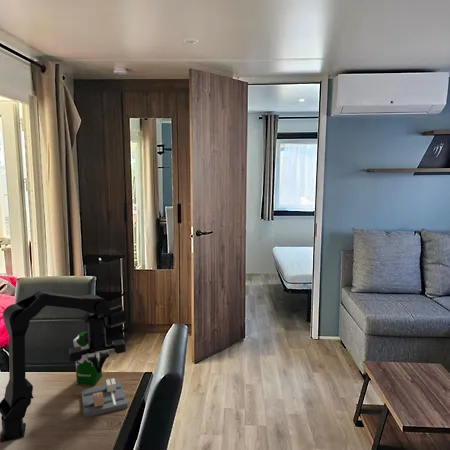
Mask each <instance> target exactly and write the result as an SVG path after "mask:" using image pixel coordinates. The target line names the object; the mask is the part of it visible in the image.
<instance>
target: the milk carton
mask: <svg viewBox="0 0 450 450" xmlns="http://www.w3.org/2000/svg"><path fill="white" fill-rule="evenodd" d="M83 333H88V330H87V331H86V330H85V331H84V330H83V331H81V332H79V333H78V335H77V336H76V337H75V338H74V339H73V340H72V341H73V347H79V346H81V350H82V349H88V348H89V346H88V342H84V339H83ZM96 358H97V363H98V368H99V352H98V353H96ZM75 372H76V385H77V386H92V387H93V386H95V387H96V385H97V384H98V382H99V381H100V380H101V378H102V377H103V368H102V369H101V372H100V373H97V370H96V368H95V366H94V365H93V363H92V362H91V361H88V360H87V355H82V358H81V359H80V360H79V361H75Z"/></svg>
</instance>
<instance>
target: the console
mask: <svg viewBox="0 0 450 450" xmlns="http://www.w3.org/2000/svg"><path fill="white" fill-rule="evenodd" d="M99 392H102V393H103V398H104V405H102V406H98V407H94V399H93V394H94V393H99ZM80 394H81V400H82V401H81V402H82V410H83V418H89V417H92V416H97V415H100V414H104V413H105V414H107V413H109V412H110V413H111V412H114V411H117V410H122V409H126V408H128V401H127V397H126V395H125V391H124V387H123V384H122V381H118V382H116V390H115V391H111V392H107V388H106V384H103V385H99V386H95V387H93V386H92V387H89V388H84V389H81V393H80Z"/></svg>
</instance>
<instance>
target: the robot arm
mask: <svg viewBox="0 0 450 450" xmlns="http://www.w3.org/2000/svg"><path fill="white" fill-rule="evenodd" d="M106 301H107V300H106V299H104V298H103V297H100V296H98V295H96V294H84V295H83V294H82V295H70V294H63V293H62V294H61V293H56V292H55V293H54V292H49V291H48V292H46V291H43V290H40V291H37V292H35V293H33V294H32V295H29V296H27V297H25V298H23V299H21V300H19V301H17V302H16V303H13V304H10V305H8V306H7V307H6V308H5V309H4V310H3V312H2V318H3V322H4V323H3V324H4V326H5V330H6V331H7V335H8V367H9V368H8V370H9V378H8V383H7V384H6V386H5V390H4V391H5V392H4V397H3V399H2V400H1V401H0V415H1V419H0V420H1V428H2V429H1V434H0V443H4V442H8V441H10V440H16V439H20V438H23V437H25V434H26V428H27V427H26V426H27V423H26V422H24V418H25V416H26V412H27V410H28V407H29V406H30V405H31V403H32V399H34V395H33V391H34V386H33V384H32V383H31V381H29V380H28V378H26V335H27V332H28V330H29V327H30V323H31V322H30V321H31V319H34V318H35V317H36V316H37V315H38V314H39V313H40V312H41V311H42V310H43V309H44V308H45V307H47V306H48V307H58V308H66V309H77V310H80V311H81V310H82V311H84V312H87V313H85V314H84V316H82V318H81V321H82V322H84V324H87V331H88V333H83V339H84V342H88V346H89V348H88V349H82V350H81V346H79V347H74V346H72V347H70V348H69V349H68V354H69V362H71V363H72V362H76V361H79V360H80V359H81V358H82V355H87V360H88V361H91V362H92V363H93V365H94V366H95V368H96V370H97V373H100V372H101V369H102V370H103V368H104V367H103V366H104V363H105V362H106V361H107V358H110V351H114V352H115V353H116V354H123V353H126V352H127V350H126V343H125V340H124V339H122V338H121V339H114V340H112V342H111V343H112V344H107V337H106V335H107V334H106V326H107V327H108V328H114V327H117V326H120V325H123V324H125V323H126V322H127V315H126V312H125V310H124V307H123V306H122V305H120V304H118V305H116V306H114V307H110V308H109V306H107V302H106ZM88 313H89V314H88ZM98 352H99V368H98V363H97V358H96V353H98Z"/></svg>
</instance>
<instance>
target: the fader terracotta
mask: <svg viewBox="0 0 450 450" xmlns="http://www.w3.org/2000/svg"><path fill="white" fill-rule="evenodd" d="M93 399H94V407H98V406H102V405H104V398H103V393H102V392H99V393H94V394H93Z"/></svg>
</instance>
